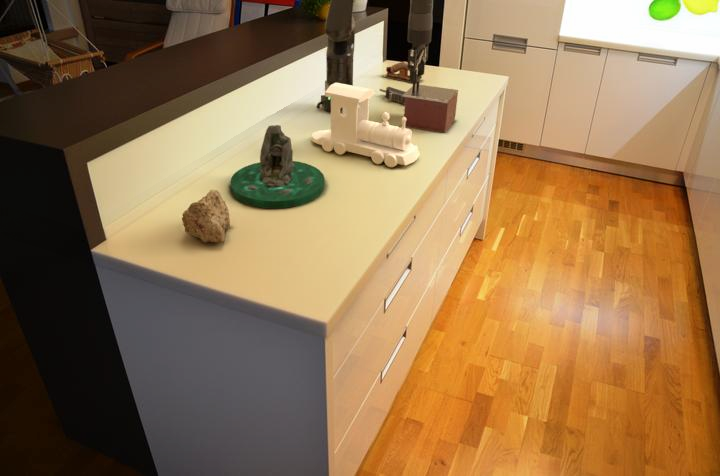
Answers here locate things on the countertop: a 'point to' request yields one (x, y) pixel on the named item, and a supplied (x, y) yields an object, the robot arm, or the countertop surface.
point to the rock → (207, 218)
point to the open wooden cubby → (430, 114)
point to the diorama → (277, 176)
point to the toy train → (364, 129)
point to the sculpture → (402, 72)
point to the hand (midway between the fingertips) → (416, 77)
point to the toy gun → (394, 94)
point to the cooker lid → (429, 92)
